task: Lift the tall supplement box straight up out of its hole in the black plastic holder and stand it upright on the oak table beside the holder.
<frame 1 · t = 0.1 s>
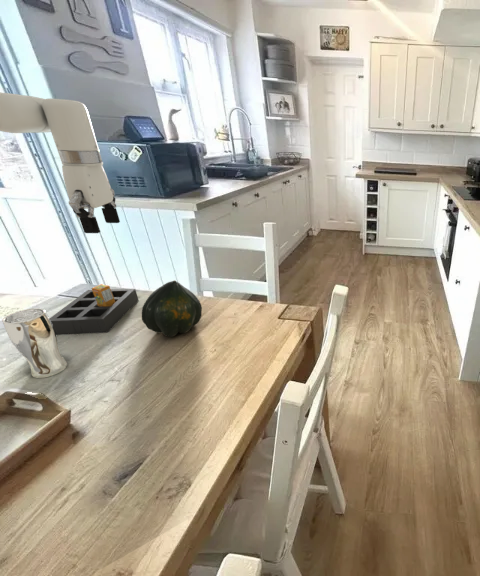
hand: (103, 227, 85), 29 cm above the table, tool pointing down, fingers open, 9 cm apart
supplement box: (111, 316, 99), resting in holder
holder: (99, 316, 98), on the table
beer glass: (50, 370, 77), on the table
squash: (176, 328, 96), on the table
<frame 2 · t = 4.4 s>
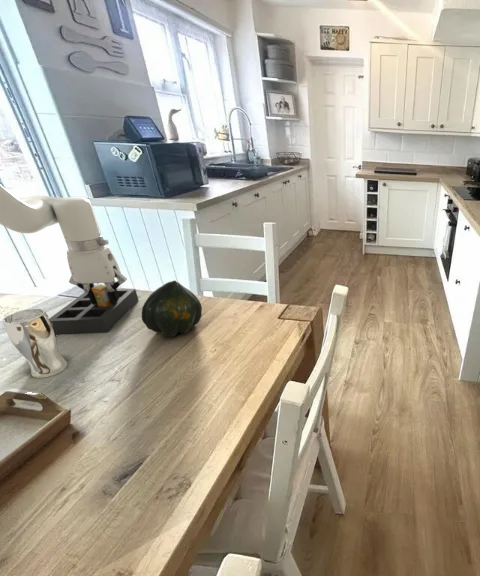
hand: (105, 301, 97), 5 cm above the table, tool pointing down, fingers closed on supplement box, 4 cm apart
supplement box: (111, 316, 99), resting in holder, touching gripper
everything else where it was.
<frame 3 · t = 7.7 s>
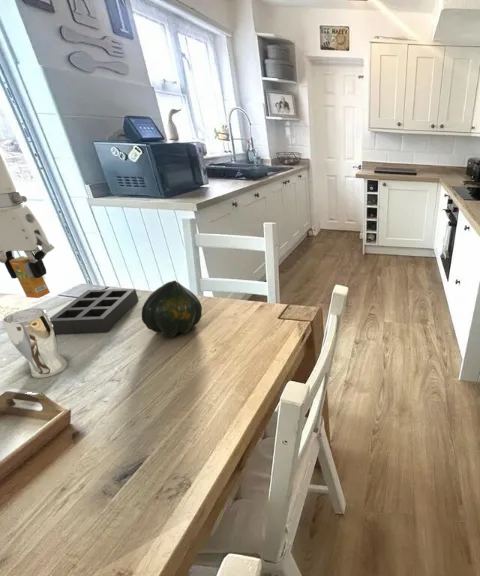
hand: (29, 275, 79), 19 cm above the table, tool pointing down, fingers closed on supplement box, 3 cm apart
supplement box: (38, 296, 82), point 13 cm above the table, touching gripper
everything else where it was.
when the fingers open (5 cm above the table, at t = 11.2 s): supplement box stays where it is, on the table.
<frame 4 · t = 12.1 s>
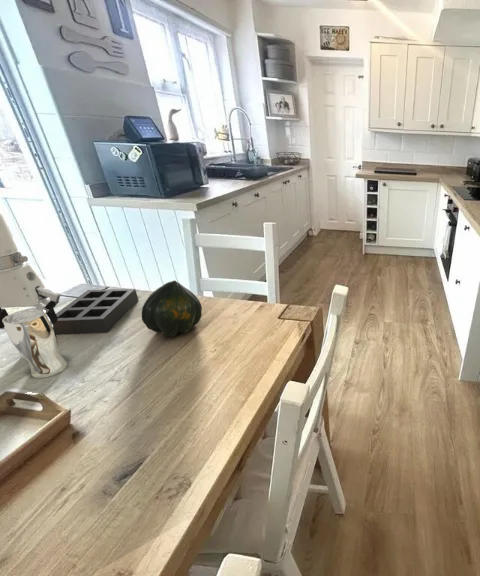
hand: (29, 324, 81), 7 cm above the table, tool pointing down, fingers open, 9 cm apart
supplement box: (40, 347, 84), on the table
everything else where it was.
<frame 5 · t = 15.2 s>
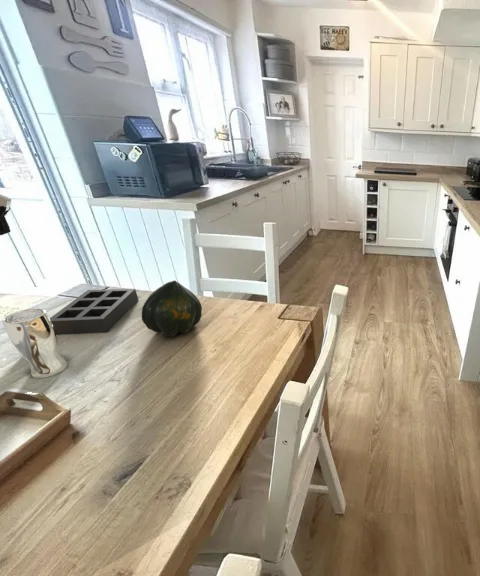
nothing on the table moved.
at the end: supplement box 0.1 cm from the target spot, on the table; supplement box tilted 0°; the gripper is holding nothing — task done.
